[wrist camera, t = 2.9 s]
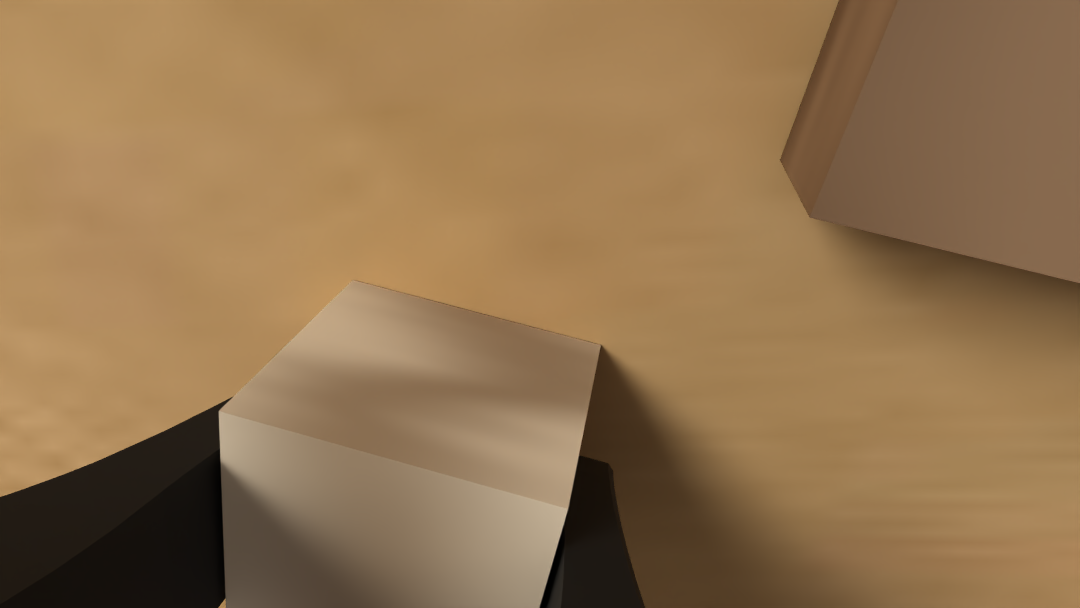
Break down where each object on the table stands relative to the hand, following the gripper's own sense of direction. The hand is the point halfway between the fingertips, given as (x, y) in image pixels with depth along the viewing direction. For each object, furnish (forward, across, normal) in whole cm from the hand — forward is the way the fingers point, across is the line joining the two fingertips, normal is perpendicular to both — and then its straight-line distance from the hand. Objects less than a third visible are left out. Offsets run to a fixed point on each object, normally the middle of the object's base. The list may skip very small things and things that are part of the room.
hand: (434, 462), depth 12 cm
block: (+1, 0, 0) cm, 1 cm away
